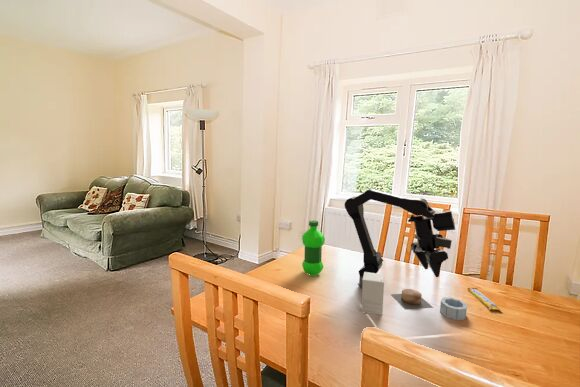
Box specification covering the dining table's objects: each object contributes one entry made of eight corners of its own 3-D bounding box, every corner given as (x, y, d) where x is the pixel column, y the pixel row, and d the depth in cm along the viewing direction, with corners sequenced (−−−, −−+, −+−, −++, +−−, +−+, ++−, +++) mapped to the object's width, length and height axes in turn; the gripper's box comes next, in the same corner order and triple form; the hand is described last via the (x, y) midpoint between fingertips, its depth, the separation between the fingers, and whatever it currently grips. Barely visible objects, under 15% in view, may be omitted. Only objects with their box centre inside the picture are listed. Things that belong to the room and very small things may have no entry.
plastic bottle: (297, 274, 133) (298, 222, 129) (308, 267, 142) (309, 217, 138) (317, 280, 128) (318, 225, 124) (326, 271, 137) (328, 220, 133)
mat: (405, 310, 104) (405, 309, 104) (390, 295, 114) (390, 294, 114) (433, 308, 105) (433, 307, 105) (416, 294, 116) (416, 292, 116)
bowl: (450, 322, 97) (451, 309, 96) (435, 309, 105) (436, 298, 104) (471, 320, 98) (472, 308, 97) (455, 308, 106) (456, 296, 105)
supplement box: (382, 306, 107) (384, 273, 105) (382, 316, 100) (384, 282, 98) (362, 302, 109) (364, 271, 107) (360, 312, 102) (362, 279, 100)
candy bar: (466, 290, 120) (466, 286, 120) (476, 291, 120) (477, 286, 120) (489, 312, 104) (490, 308, 103) (502, 313, 103) (502, 308, 103)
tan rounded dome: (407, 306, 106) (407, 298, 105) (397, 296, 113) (398, 289, 112) (424, 304, 107) (425, 297, 106) (414, 295, 114) (414, 288, 113)
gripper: (459, 232, 97) (467, 277, 97) (434, 224, 116) (441, 262, 116) (426, 238, 98) (434, 282, 98) (407, 229, 116) (414, 267, 117)
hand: (431, 272), depth 107 cm, fingers open, 9 cm apart
